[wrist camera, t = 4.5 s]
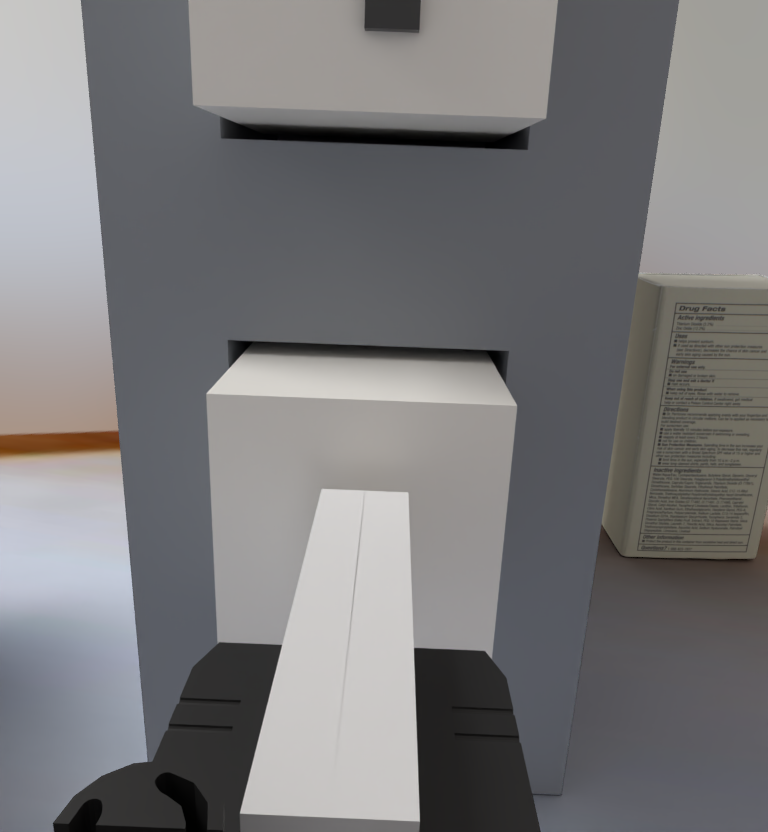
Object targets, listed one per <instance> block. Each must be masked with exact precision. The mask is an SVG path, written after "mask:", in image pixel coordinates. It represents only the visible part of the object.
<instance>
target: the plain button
mask: <svg viewBox="0 0 768 832" xmlns="http://www.w3.org/2000/svg"><path fill="white" fill-rule="evenodd" d="M206 400H207V422H208V444H209V466H210V488H211V510H212V532H213V554H214V576H215V598H216V620H217V642H218V643H219V642H227V643H251V644H274V645H282V644H283V640H284V636H285V632H286V628H287V624H288V620H289V616H290V612H291V608H292V605H293V601H294V597H295V593H296V589H297V585H298V581H299V577H300V573H301V569H302V565H303V561H304V557H305V553H306V549H307V545H308V541H309V537H310V533H311V529H312V525H313V521H314V517H315V513H316V509H317V505H318V501H319V497H320V493H321V489H338V490H362V491H387V492H408V496H409V525H410V553H411V582H412V611H413V639H414V648H431V649H455V650H479V651H485V652H486V653H487V654H488V655H489V657H490V658H491V659H492V653H493V643H494V633H495V623H496V613H497V603H498V593H499V583H500V573H501V563H502V553H503V543H504V533H505V523H506V513H507V503H508V493H509V483H510V473H511V463H512V453H513V444H514V434H515V424H516V414H517V404H516V403H515V401H514V399H513V397H512V395H511V394H510V392H509V390H508V388H507V387H506V385H505V383H504V381H503V379H502V378H501V376H500V374H499V372H498V371H497V369H496V367H495V365H494V364H493V362H492V360H491V358H490V356H489V355H488V353H487V351H486V350H474V349H448V348H422V347H396V346H370V345H344V344H317V343H291V342H265V341H254V342H253V343H252V344H251V345H250V346H249V347H248V348H247V349H246V351H245V352H244V353H243V354H242V355H241V356H240V357H239V358H238V359H237V360H236V362H235V363H234V364H233V365H232V366H231V367H230V368H229V369H228V370H227V371H226V373H225V374H224V375H223V376H222V377H221V378H220V379H219V380H218V381H217V382H216V384H215V385H214V386H213V387H212V388H211V389H210V390H209V391H208V392H207V393H206Z"/></svg>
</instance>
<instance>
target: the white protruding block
mask: <svg viewBox="0 0 768 832" xmlns="http://www.w3.org/2000/svg"><path fill="white" fill-rule="evenodd" d="M188 5H189V27H190V49H191V71H192V93H193V105H194V106H196V107H199V108H201V109H204V110H206V111H209V112H211V113H213V114H216V115H218V116H221V117H223V118H226V119H228V120H231V121H233V122H236V123H238V124H240V125H243V126H245V127H248V128H250V129H253V130H255V131H258V132H260V133H263V134H284V135H310V136H337V137H363V138H389V139H416V140H442V141H469V142H495V141H497V140H500V139H502V138H504V137H506V136H508V135H511V134H513V133H515V132H517V131H520V130H522V129H524V128H526V127H528V126H531V125H533V124H535V123H537V122H539V121H542V120H544V119H546V115H547V105H548V95H549V85H550V75H551V65H552V55H553V45H554V35H555V25H556V15H557V5H558V0H188Z"/></svg>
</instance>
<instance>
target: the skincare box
mask: <svg viewBox="0 0 768 832" xmlns="http://www.w3.org/2000/svg"><path fill="white" fill-rule="evenodd" d="M767 505H768V277H766V276H764V275H759V274H754V275H753V274H751V275H737V274H732V275H731V274H715V275H714V274H669V273H639V274H638V281H637V288H636V294H635V301H634V308H633V315H632V321H631V328H630V335H629V342H628V348H627V355H626V362H625V369H624V375H623V382H622V389H621V396H620V402H619V409H618V416H617V423H616V429H615V436H614V443H613V450H612V456H611V463H610V470H609V477H608V484H607V490H606V497H605V504H604V511H603V517H602V525H603V527H604V529H605V530H606V532H607V534H608V535H609V537H610V538H611V540H612V542H613V543H614V545H615V546H616V548H617V550H618V551H619V553H620V554H621V555H622V556H625V557H653V558H703V559H754V558H756V555H757V551H758V547H759V542H760V538H761V533H762V529H763V524H764V519H765V515H766V510H767Z"/></svg>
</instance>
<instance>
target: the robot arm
mask: <svg viewBox="0 0 768 832" xmlns="http://www.w3.org/2000/svg"><path fill="white" fill-rule="evenodd" d="M53 826H54V832H541V831H540V827H539V822H538V818H537V813H536V809H535V804H534V800H533V795H532V791H531V786H530V782H529V777H528V773H527V768H526V764H525V759H524V755H523V750H522V746H521V743H520V742H519V732H518V728H517V723H516V719H515V715H513V705H512V701H511V696H510V692H509V687H508V683H507V678H506V677H505V675H504V674H503V673H502V672H501V670H500V669H499V668H498V667H497V665H496V664H495V663H494V662H493V660H492V659H491V658H490V657H489V655H488V654H487V653H486V652H485V651H479V650H455V649H431V648H414V639H413V611H412V582H411V553H410V525H409V496H408V492H387V491H362V490H338V489H321V493H320V497H319V501H318V505H317V509H316V513H315V517H314V521H313V525H312V529H311V533H310V537H309V541H308V545H307V549H306V553H305V557H304V561H303V565H302V569H301V573H300V577H299V581H298V585H297V589H296V593H295V597H294V601H293V605H292V608H291V612H290V616H289V620H288V624H287V628H286V632H285V636H284V640H283V644H282V645H274V644H251V643H227V642H219V643H218V644H217V645H216V646H215V647H214V648H212V649H211V650H210V651H209V652H208V653H207V654H206V655H205V656H204V657H203V658H202V659H201V660H200V661H199V662H198V663H197V664H195V665H194V666H193V668H192V670H191V672H190V675H189V677H188V679H187V682H186V684H185V686H184V689H183V691H182V693H181V696H180V701H179V704H177V705H176V707H175V710H174V712H173V714H172V717H171V719H170V721H169V726H168V730H167V731H165V733H164V736H163V738H162V740H161V743H160V745H159V747H158V750H157V752H156V754H155V757H154V759H153V761H152V762H143V763H134V764H131V765H129V766H126V767H123V768H121V769H118V770H116V771H113V772H111V773H108V774H106V775H103V776H101V777H100V778H98V779H97V780H96V781H94V782H93V783H92V784H90V785H89V786H87V787H86V788H85V789H83V790H82V791H81V792H79V793H78V794H76V795H75V796H74V797H73V798H72V799H71V801H70V802H69V803H68V805H67V806H66V807H65V808H64V810H63V811H62V812H61V814H60V815H59V816H58V817H57V819H56V820H55V821H54V823H53Z"/></svg>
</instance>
